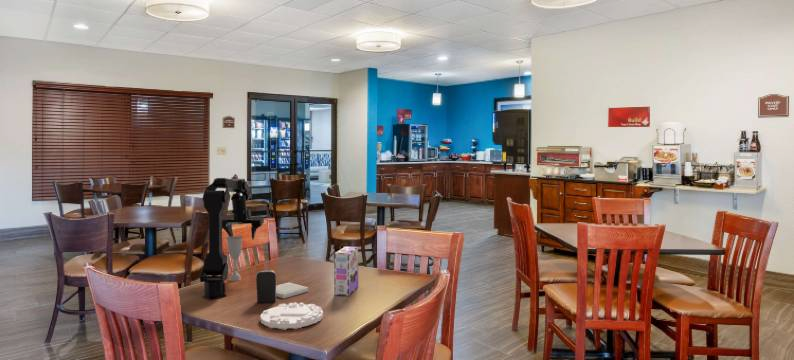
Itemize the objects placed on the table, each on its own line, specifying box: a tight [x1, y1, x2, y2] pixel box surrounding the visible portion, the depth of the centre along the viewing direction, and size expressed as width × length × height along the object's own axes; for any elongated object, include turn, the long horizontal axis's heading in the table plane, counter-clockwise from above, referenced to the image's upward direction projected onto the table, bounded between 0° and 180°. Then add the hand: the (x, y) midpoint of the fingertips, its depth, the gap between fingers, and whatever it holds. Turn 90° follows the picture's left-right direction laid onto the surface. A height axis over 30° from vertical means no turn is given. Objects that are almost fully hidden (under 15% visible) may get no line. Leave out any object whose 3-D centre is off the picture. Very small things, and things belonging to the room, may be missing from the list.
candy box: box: [333, 246, 359, 297], centre depth 192 cm, size 14×6×16 cm, turn 168°
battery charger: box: [255, 269, 277, 304], centre depth 179 cm, size 7×4×11 cm, turn 102°
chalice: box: [225, 235, 243, 282], centre depth 209 cm, size 7×7×18 cm
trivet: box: [276, 282, 309, 299], centre depth 191 cm, size 12×12×2 cm
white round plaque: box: [260, 302, 324, 330], centre depth 161 cm, size 20×20×3 cm
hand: (242, 239), depth 219 cm, fingers open, 9 cm apart
